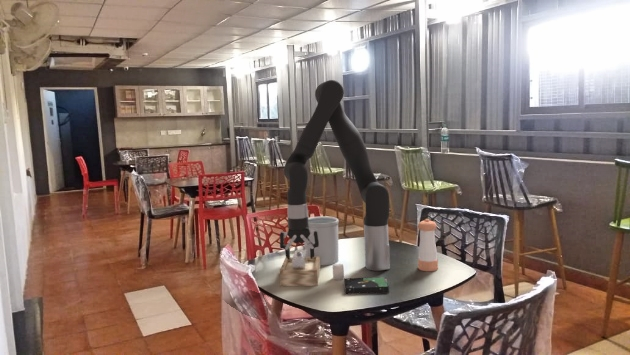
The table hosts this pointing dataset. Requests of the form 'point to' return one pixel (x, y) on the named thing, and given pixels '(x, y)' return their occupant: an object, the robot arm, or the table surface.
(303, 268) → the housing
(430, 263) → the pepper shaker
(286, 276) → the wooden tray
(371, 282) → the disk drive
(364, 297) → the table surface
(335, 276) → the spool
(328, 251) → the utensil holder
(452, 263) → the table surface
